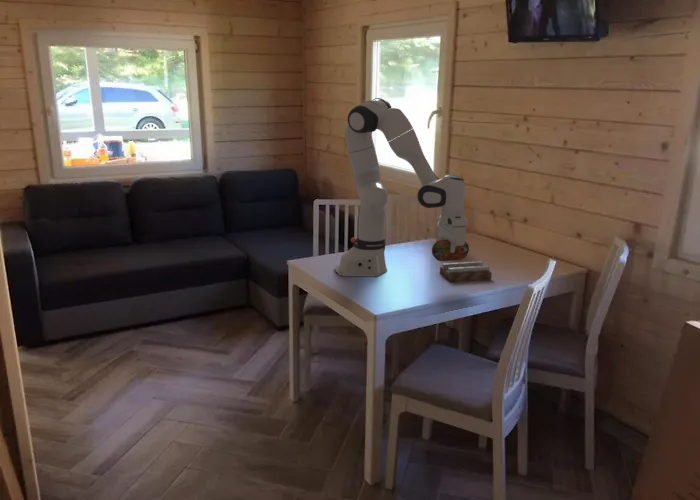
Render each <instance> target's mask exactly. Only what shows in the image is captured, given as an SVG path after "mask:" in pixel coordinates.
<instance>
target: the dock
mask: <svg viewBox="0 0 700 500" xmlns="http://www.w3.org/2000/svg"><path fill="white" fill-rule="evenodd" d="M441 264H442V265H441V266H439V274H440V275H441V276H442V277H444V278H445V279H446V280H447V281H448V282H449V283H457V282H473V281H477V282H478V281H487V280H490V281H491V280H492V272H491V271H490V270H491V269H490V267H491V266H490V265H484V261H483V260H478V261H461V262H445V263H441Z"/></svg>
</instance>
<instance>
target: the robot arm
mask: <svg viewBox="0 0 700 500" xmlns="http://www.w3.org/2000/svg"><path fill="white" fill-rule="evenodd" d="M391 105H392V104H391V103H390V102H389V101H388V100H387V99H385V98H382V97H375V98H373V99H370V100H369V99H368V100H366V101H364V102H363V103H361V104H359V105H356V106H354V107H353V108H352V109H351V110H350V111H349V113H348V115H347V125H346V126H345V130H344V138H345V139H344V140H345V145H346V149H347V153H348V158H349V160H350V166H351V169H352V173H353V179H354V183H355V187H356V188H355V189H356V192H357V196H358V198H359V200H360V207H359V209H360V210H359V217H358V231H357V232H358V233H357V234H358V237H357V238H355V237H351V239H350V242H351V243H353V247H351V248H350V249H348V250H347V251H346V252H344V253H343V254H342V255H341V258H340V261H339V262H340V263H339V264H335V266H334V272H335V273H336V272H337V273H338V276H341V275H342V277H379V276H380V275H382V274H384V273H386V272H387V271H388V269H387V264H386V256H385V251H386V238H385V224H386V214H387V208H388V207H387V206H388V199H389V196H388V195H389V194H388V191H387V189H386V187H385V185H383V183H382V179H381V178H382V177H381V172H380V165H379V164H380V163H379V159H378V155H377V152H376V151H377V150H376V148H375V144H374V139H373V132H375V131H376V130H377V131H378V130H379V131H380V132H382V134H383V136H384V138H385V139H386V141H387V144H388V146H389V147H390V148H391V150H392V152H393V153H394V154H395V156H397V158H400V159H402V160H404V161H406V162H407V163H408V164H410V166H411V167H412V168H413V171H414V172H415V174H416V177H417V178H418V180H419V181H420V183H421V187H420V188H419V190H418V192H417V196H416V197H417V202H418V203H419V204H420V205H421V206H422V207H424V208H425V209H435V208H440V215H441V217H440V219H439V218H438V222H439V225H438V233H439V234H440V235H441V236H443V237H444V238H445V240H448V241H450V244H451V246H450V247H449V251H450V252H451V253H454V252H455V247H456V246H463V245H464V244H465V242H466V240H467V239H466V238H467V226H468V225H469V220H468V219H467V217H466V216H465V209H464V202H465V199H466V183H465V180H464V179H463V178H462V177H460V176H458V175H453V174H445V175H444V176H443V177H442V178H439V177H438V176H437V175H436V174H435V172H434V171H433V169H432V167H431V165H430V163H429V162H428V160H427V158H426V156H425V155H424V152H423V149H422V146H421V144H420V141H419V138H418V136H417V134H416V131H415V129H414V128H413V126H412V124H411V122H410V120H409V118H408V117H407V116H406V113H404V112H403V110H402V109H401V108H400V107H392V106H391ZM337 273H336V274H337Z"/></svg>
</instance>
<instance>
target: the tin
mask: <svg viewBox="0 0 700 500" xmlns="http://www.w3.org/2000/svg"><path fill="white" fill-rule="evenodd" d="M450 246H451V244H450V241H448V240H439V241H437V242H436V241H435V242H434V244H432V247H431V254H432V256H433V258H435V259H436V260H437V261H438V262H451V261H462V260H463V259H465V258H466V257H467V256H468V254H469V252H470V251H469V250H470V246H469V244H468V242H466V241H465V244H464V245H463V246H456V247H455V252H454V253H451V252H450V251H449V247H450Z"/></svg>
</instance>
